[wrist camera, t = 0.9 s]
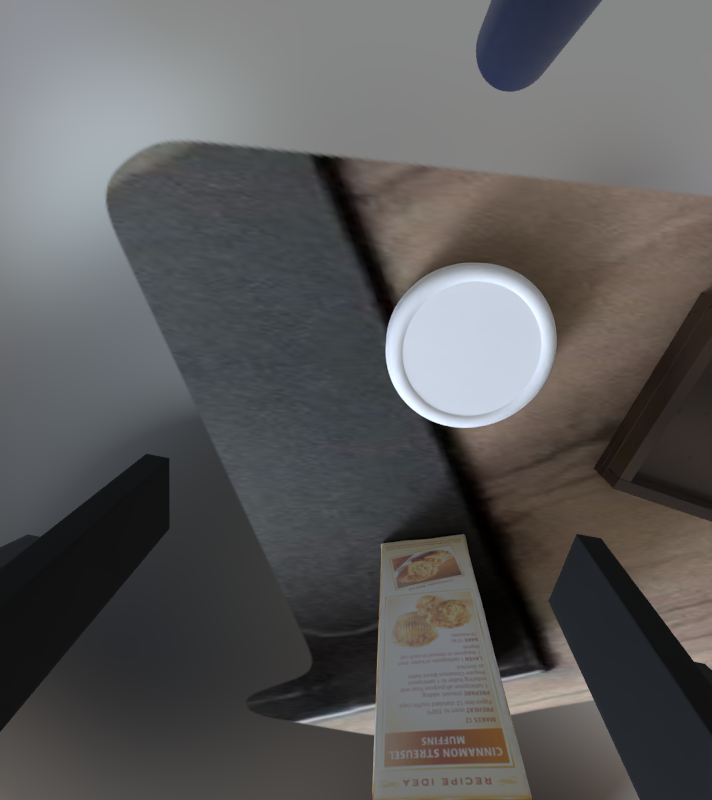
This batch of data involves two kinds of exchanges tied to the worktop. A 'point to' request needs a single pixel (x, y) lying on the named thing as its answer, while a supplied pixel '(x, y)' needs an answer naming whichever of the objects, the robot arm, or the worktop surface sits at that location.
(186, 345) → the worktop surface
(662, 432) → the dark brown wooden tray
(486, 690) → the coffeecake box
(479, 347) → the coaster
